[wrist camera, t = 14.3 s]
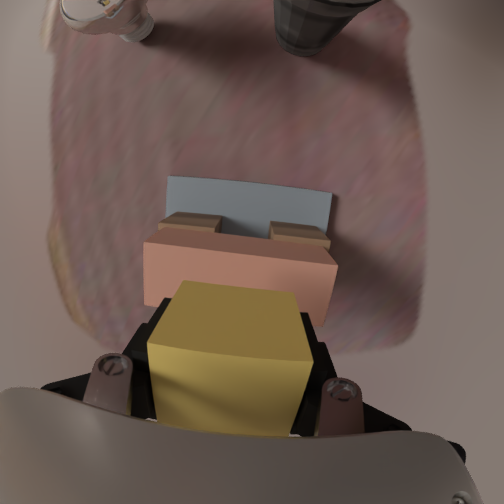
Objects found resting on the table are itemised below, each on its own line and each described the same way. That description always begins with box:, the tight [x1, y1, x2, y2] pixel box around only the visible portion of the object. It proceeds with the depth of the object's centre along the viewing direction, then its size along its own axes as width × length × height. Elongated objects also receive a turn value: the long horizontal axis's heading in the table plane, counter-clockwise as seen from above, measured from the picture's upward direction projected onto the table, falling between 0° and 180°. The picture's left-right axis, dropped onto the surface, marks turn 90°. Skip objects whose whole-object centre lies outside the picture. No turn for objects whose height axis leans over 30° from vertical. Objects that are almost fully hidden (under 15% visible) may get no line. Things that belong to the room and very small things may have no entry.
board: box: [166, 176, 332, 239], centre depth 25 cm, size 11×14×1 cm
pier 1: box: [158, 211, 223, 233], centre depth 22 cm, size 5×4×5 cm
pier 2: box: [268, 221, 331, 254], centre depth 22 cm, size 5×4×5 cm
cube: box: [147, 280, 313, 437], centre depth 10 cm, size 4×4×4 cm
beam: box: [144, 227, 338, 327], centre depth 18 cm, size 11×4×4 cm, turn 83°
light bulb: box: [60, 0, 154, 42], centre depth 13 cm, size 7×7×12 cm
